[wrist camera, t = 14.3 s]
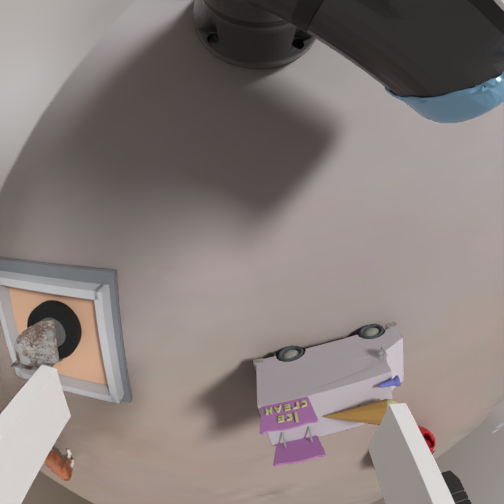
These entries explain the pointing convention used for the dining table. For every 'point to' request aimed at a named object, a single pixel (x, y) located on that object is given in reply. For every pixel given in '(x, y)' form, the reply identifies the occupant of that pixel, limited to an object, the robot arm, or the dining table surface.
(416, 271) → the dining table surface
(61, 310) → the caster wheel
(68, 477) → the bull figurine
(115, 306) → the tray
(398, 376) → the toy vehicle
